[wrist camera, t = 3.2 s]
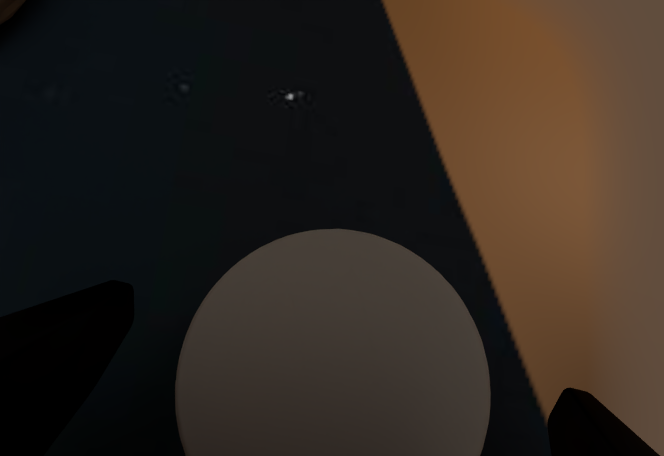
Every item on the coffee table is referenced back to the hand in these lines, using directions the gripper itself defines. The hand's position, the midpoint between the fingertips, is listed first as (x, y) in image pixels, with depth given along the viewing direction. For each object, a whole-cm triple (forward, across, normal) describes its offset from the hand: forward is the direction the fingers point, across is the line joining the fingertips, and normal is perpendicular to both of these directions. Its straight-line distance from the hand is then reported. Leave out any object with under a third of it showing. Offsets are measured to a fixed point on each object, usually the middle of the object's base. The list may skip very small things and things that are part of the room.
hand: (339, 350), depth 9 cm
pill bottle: (+5, 0, +6) cm, 8 cm away
